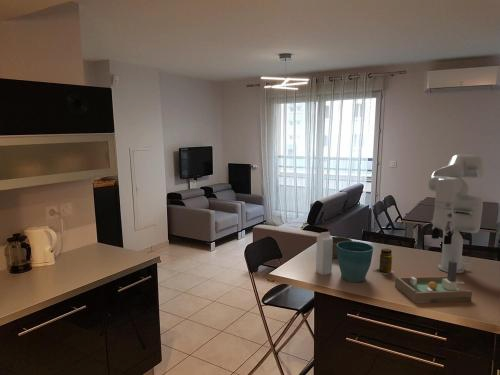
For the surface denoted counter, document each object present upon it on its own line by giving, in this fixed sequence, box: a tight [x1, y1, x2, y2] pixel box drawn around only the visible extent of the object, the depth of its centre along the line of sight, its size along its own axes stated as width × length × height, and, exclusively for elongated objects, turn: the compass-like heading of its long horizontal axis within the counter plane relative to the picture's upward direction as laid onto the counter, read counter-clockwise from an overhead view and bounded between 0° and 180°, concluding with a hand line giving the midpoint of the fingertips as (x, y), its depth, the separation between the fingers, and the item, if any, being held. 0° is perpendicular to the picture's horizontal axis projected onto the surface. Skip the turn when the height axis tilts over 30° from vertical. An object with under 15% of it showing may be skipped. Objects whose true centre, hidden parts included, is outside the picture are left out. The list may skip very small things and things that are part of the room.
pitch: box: [394, 275, 473, 304], centre depth 167 cm, size 26×18×5 cm
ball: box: [428, 281, 437, 290], centre depth 167 cm, size 4×4×4 cm
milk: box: [315, 231, 333, 276], centre depth 192 cm, size 6×6×22 cm
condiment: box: [373, 248, 395, 276], centre depth 194 cm, size 7×8×12 cm
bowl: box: [331, 236, 353, 259], centre depth 221 cm, size 17×18×10 cm
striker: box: [442, 261, 465, 290], centre depth 167 cm, size 9×5×13 cm, turn 95°
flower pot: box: [337, 240, 375, 283], centre depth 184 cm, size 18×18×17 cm
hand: (441, 241), depth 169 cm, fingers open, 9 cm apart
